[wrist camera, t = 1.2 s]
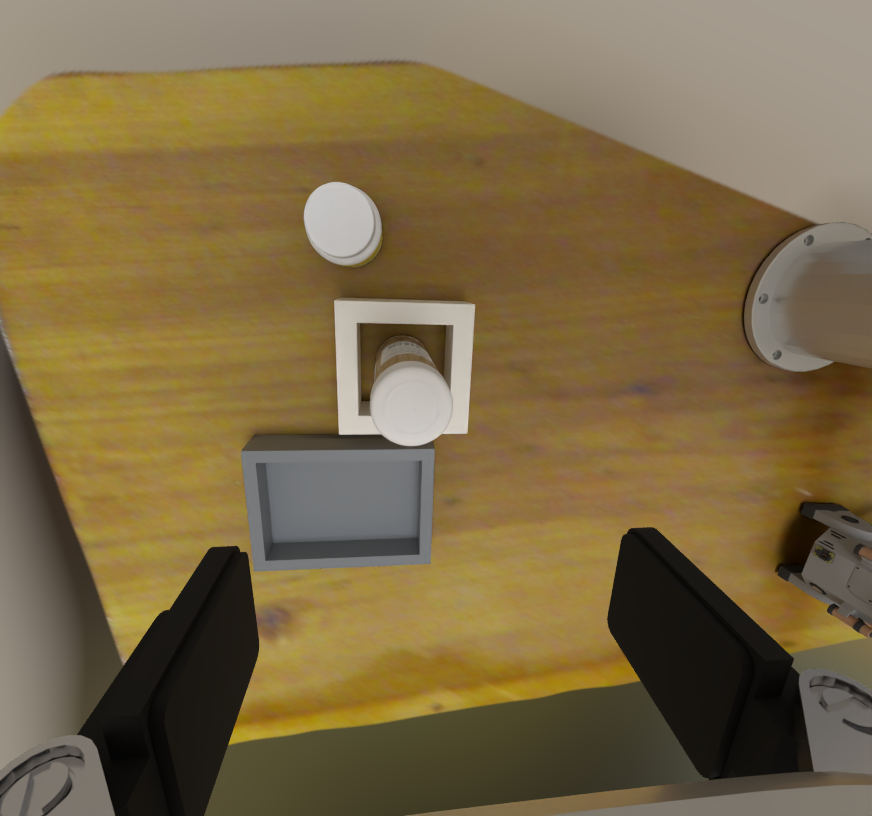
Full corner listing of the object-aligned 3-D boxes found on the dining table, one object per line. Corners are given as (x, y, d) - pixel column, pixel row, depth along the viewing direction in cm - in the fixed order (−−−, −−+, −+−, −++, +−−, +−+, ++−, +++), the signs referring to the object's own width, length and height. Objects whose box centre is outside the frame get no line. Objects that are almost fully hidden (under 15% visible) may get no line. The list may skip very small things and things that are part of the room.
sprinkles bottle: (369, 378, 35) (359, 436, 23) (384, 326, 34) (382, 356, 21) (421, 393, 36) (439, 457, 24) (437, 343, 35) (466, 381, 22)
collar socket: (465, 301, 34) (475, 304, 31) (459, 417, 37) (467, 433, 33) (340, 297, 33) (334, 300, 29) (344, 417, 36) (338, 434, 32)
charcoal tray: (430, 433, 37) (434, 449, 34) (426, 540, 41) (430, 563, 37) (254, 434, 36) (240, 451, 32) (265, 546, 39) (254, 571, 36)
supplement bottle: (395, 237, 32) (398, 224, 24) (352, 280, 33) (342, 282, 25) (349, 185, 31) (336, 153, 23) (305, 232, 32) (278, 217, 24)
